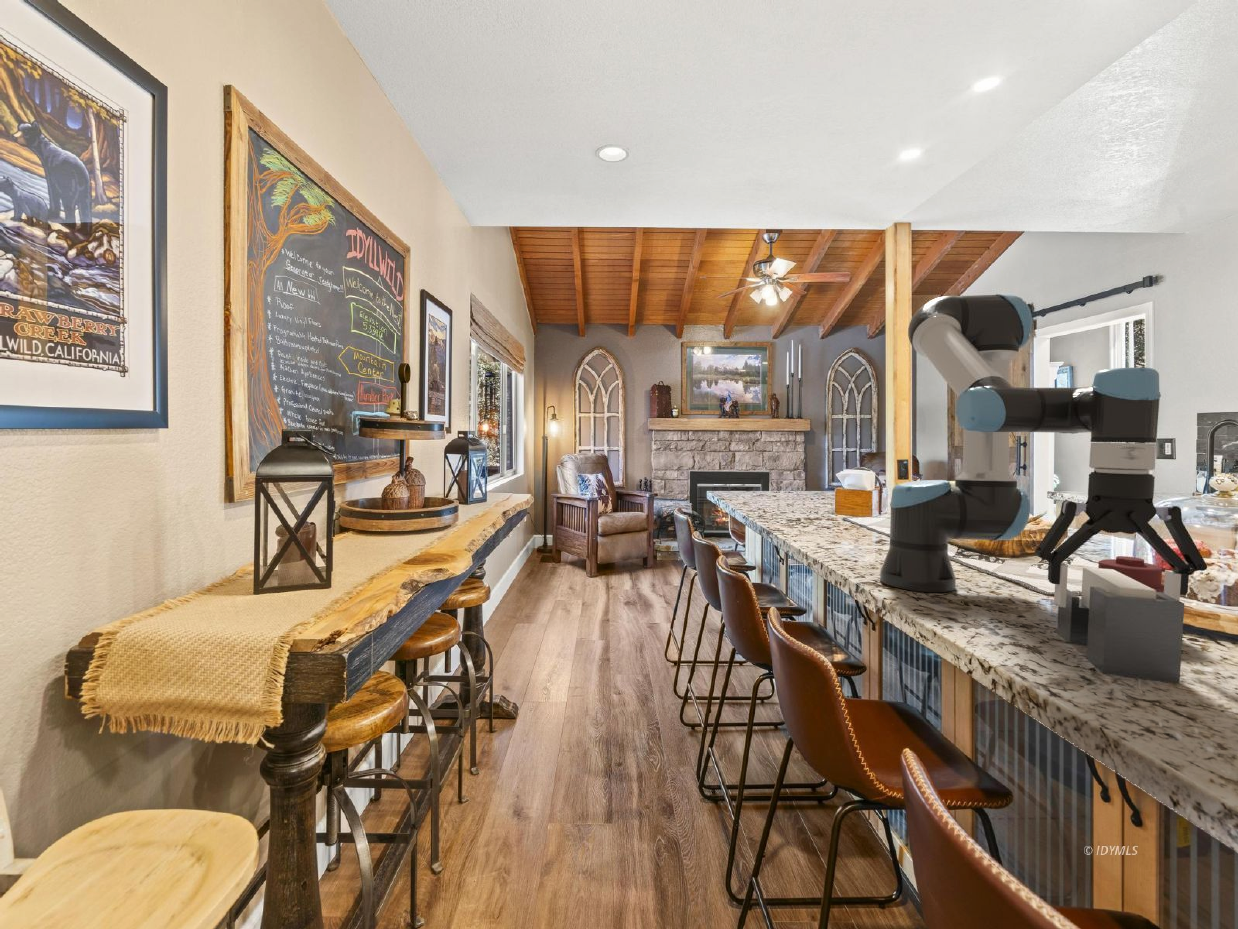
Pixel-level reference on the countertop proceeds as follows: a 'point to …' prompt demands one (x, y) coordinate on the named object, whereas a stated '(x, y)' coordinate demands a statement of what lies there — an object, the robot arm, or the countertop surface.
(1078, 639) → the grey channel block
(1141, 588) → the cream rectangular block
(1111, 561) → the mechanical component
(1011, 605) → the countertop surface
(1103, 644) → the cup bracket
